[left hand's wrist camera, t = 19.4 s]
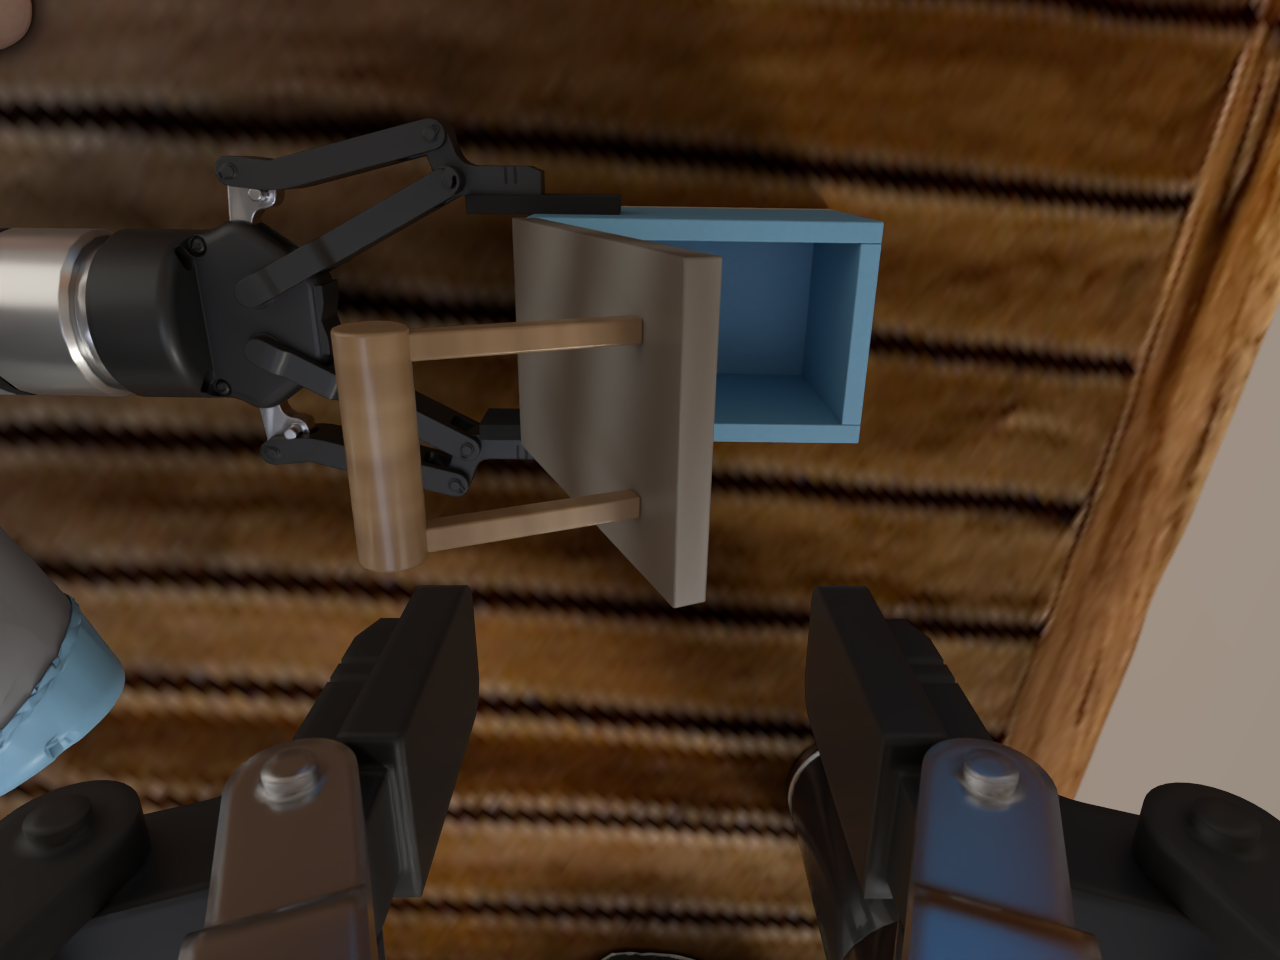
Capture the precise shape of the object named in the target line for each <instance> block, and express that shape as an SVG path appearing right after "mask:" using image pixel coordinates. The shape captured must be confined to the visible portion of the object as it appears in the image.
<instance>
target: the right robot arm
mask: <svg viewBox="0 0 1280 960" xmlns="http://www.w3.org/2000/svg"><path fill="white" fill-rule="evenodd" d="M424 156H427V158H428V160H429V163H430V165H431V168H432V170H433V172H432V173H430V174H428V175H427V176H425V177H423V178H421V179H420V180H418V181H416V182H414V183H413V184H411V185H409V186H407V187H406V188H404V189H402V190H401V191H399V192H397V193H395V194H394V195H392V196H390V197H388V198H387V199H385V200H383V201H382V202H380V203H378V204H376V205H375V206H373V207H371V208H369V209H368V210H366V211H364V212H363V213H361V214H359V215H357V216H356V217H354V218H352V219H350V220H349V221H347V222H345V223H344V224H342V225H340V226H338V227H337V228H335V229H333V230H331V231H330V232H328V233H326V234H325V235H323V236H321V237H319V238H317V239H315V240H312V241H310V242H308V243H306V244H305V245H303V246H301V247H298V246H296V245H295V244H293V243H292V242H290V241H289V240H287V239H286V238H285V237H283V236H282V235H280V234H279V233H277V232H276V231H274V230H273V229H272V228H270V227H269V226H267V225H266V224H264V223H263V222H261V217H262V214H263V212H264V211H265V210H266V209H268V208H272V207H277V206H279V205H280V204H281V203H282V202H283V200H284V189H296V188H305V187H310V186H314V185H318V184H322V183H326V182H329V181H333V180H337V179H341V178H344V177H348V176H352V175H356V174H360V173H363V172H367V171H371V170H375V169H378V168H382V167H386V166H390V165H393V164H397V163H401V162H405V161H409V160H412V159H416V158H420V157H424ZM214 170H215V174H216V176H217V178H218V179H219V181H220V182H222V183H223V184H224V185H227V187H228V203H229V218H230V221H227V222H225V223H223V224H222V225H220V226H219V227H217V228H215V229H212V230H180V229H124V230H120V231H118V232H114V231H111V230H108V229H104V228H19V227H14V228H0V394H11V395H18V394H21V395H67V396H112V397H124V396H128V395H131V394H136V395H139V396H145V397H231V398H236V399H240V400H243V401H245V402H247V403H249V404H251V405H253V406H255V407H259V408H260V412H261V415H262V419H263V423H264V427H265V431H266V434H267V438H268V440H267V441H266V442H265V443H264V444H262V446H261V448H260V454H261V456H262V458H263V459H264V460H265V461H266V462H268V463H270V464H275V465H278V464H290V463H302V462H314V463H318V464H322V465H326V466H330V467H334V468H339V469H343V470H347V462H346V454H345V446H344V438H343V430H342V426H340V425H335V424H326V423H315V420H314V418H313V417H312V416H311V415H309V414H306V413H301V412H297V411H295V410H293V409H292V408H291V407H290V405H289V404H288V401H287V399H289V398H290V397H291V396H293V395H294V394H295V393H297V392H298V391H299V390H300V389H302V388H303V387H305V388H307V389H309V390H311V391H313V392H315V393H317V394H319V395H321V396H323V397H325V398H328V399H331V400H339V398H338V390H337V381H336V373H335V365H334V357H333V349H332V341H331V333H330V332H331V329H332V328H333V327H335V326H338V325H341V323H340V321H339V318H338V316H337V306H338V299H339V292H338V284H337V280H333V279H332V277H331V275H330V273H329V272H330V271H331V270H333V269H335V268H337V267H338V266H340V265H342V264H344V263H345V262H347V261H349V260H351V259H352V258H353V257H355V256H356V255H358V254H360V253H362V252H363V251H365V250H367V249H369V248H370V247H372V246H374V245H376V244H377V243H379V242H381V241H383V240H384V239H386V238H388V237H390V236H391V235H393V234H395V233H397V232H398V231H400V230H402V229H404V228H406V227H407V226H409V225H411V224H413V223H414V222H416V221H418V220H420V219H421V218H423V217H425V216H427V215H428V214H430V213H432V212H434V211H435V210H437V209H439V208H441V207H442V206H444V205H446V204H448V203H449V202H451V201H453V200H455V199H456V198H458V197H460V196H462V195H465V198H466V214H577V215H620V213H621V195H604V194H545V182H544V171H543V170H540V169H538V168H536V167H533V166H483V165H475V164H472V163H470V162H469V161H468V160H467V159H466V158H465V157H464V155H463V154H462V151H461V149H460V146H459V144H458V141H457V136H456V131H455V129H454V127H453V126H452V125H451V124H449V123H447V122H445V121H441V120H437V119H432V118H426V119H422V120H418V121H414V122H411V123H407V124H403V125H399V126H396V127H392V128H388V129H385V130H381V131H377V132H373V133H370V134H366V135H362V136H358V137H355V138H351V139H347V140H344V141H340V142H336V143H332V144H329V145H325V146H321V147H318V148H314V149H310V150H306V151H303V152H299V153H295V154H292V155H288V156H284V157H280V158H277V159H271V158H263V157H255V156H222V157H220V158H219V159H218V160H217V161H216V163H215V168H214ZM415 399H416V411H417V422H418V433H419V439H420V440H422V441H424V442H426V443H428V444H430V445H432V446H434V447H436V448H438V449H440V450H437V449H433V448H429V447H425V446H421V445H420V456H421V467H422V478H423V489H425V490H429V491H434V492H438V493H442V494H446V495H450V496H456V497H459V496H462V495H464V494H465V493H466V492H467V490H468V488H469V486H470V484H471V482H472V480H473V478H474V476H475V474H476V472H477V468H478V465H479V462H481V461H482V460H485V459H534V458H533V456H532V455H531V454H530V453H529V452H528V451H527V450H526V449H525V448H524V447H523V446H522V444H521V425H520V409H497V408H489V409H488V411H487V412H486V414H485V416H484V417H483V419H482V421H481V422H480V423H478V422H476V421H474V420H472V419H470V418H468V417H466V416H464V415H462V414H461V413H459V412H457V411H455V410H453V409H451V408H449V407H447V406H445V405H443V404H441V403H439V402H437V401H435V400H433V399H431V398H429V397H427V396H425V395H423V394H421V393H419V392H417V391H415ZM441 450H442V451H441ZM347 471H348V470H347ZM124 683H125V673H124V669H123V666H122V664H121V662H120V661H119V660H118V658H117V657H116V656H115V654H114V653H113V652H112V651H111V649H110V648H109V647H108V645H107V644H106V643H105V642H104V640H103V639H102V638H101V636H100V635H99V634H98V633H97V631H96V630H95V629H94V627H93V626H92V625H91V624H90V622H89V621H88V620H87V619H86V617H85V616H84V615H83V613H82V612H81V610H80V608H79V605H78V604H77V603H76V602H75V599H74V598H72V597H70V596H69V595H67V594H66V593H63V592H62V591H61V590H60V589H59V588H58V587H57V586H56V584H55V583H54V582H53V581H52V580H51V579H50V578H49V577H48V576H47V575H46V574H45V573H44V572H43V571H42V570H41V569H40V568H39V566H38V565H37V564H36V563H35V562H34V561H33V560H32V559H31V558H30V557H29V556H28V555H27V554H26V553H25V552H24V551H23V550H22V548H21V547H20V546H19V545H18V544H17V543H16V542H15V541H14V540H13V539H12V538H11V537H10V536H9V535H8V534H7V533H6V531H5V530H4V529H3V528H2V527H1V526H0V796H2V795H4V794H5V793H7V792H9V791H11V790H12V789H14V788H15V787H17V786H19V785H20V784H22V783H23V782H25V781H26V780H28V779H29V778H31V777H32V776H34V775H35V774H37V773H38V772H39V771H41V770H42V769H43V768H45V767H46V766H48V765H49V764H50V763H52V762H53V761H54V760H55V759H56V758H57V756H59V755H60V754H61V753H62V752H63V751H64V750H66V749H67V748H69V747H70V746H71V745H73V744H74V743H76V742H78V741H79V740H80V739H82V738H83V737H84V736H85V735H86V734H87V733H88V732H89V731H90V730H91V729H92V728H94V727H95V726H96V725H97V724H98V723H99V722H100V721H101V720H102V719H103V718H104V717H105V716H106V715H107V713H108V712H109V711H110V710H111V709H112V707H113V706H114V704H115V703H116V701H117V700H118V698H119V697H120V695H121V693H122V690H123V687H124Z"/></svg>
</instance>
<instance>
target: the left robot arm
mask: <svg viewBox="0 0 1280 960" xmlns="http://www.w3.org/2000/svg"><path fill="white" fill-rule="evenodd" d="M478 696H479V671H478V659H477V647H476V635H475V622H474V610H473V600H472V593H471V590H470V587H469V586H467V585H420V586H418V587H417V588H416V589H415V591H414V593H413V595H412V597H411V598H410V600H409V602H408V604H407V606H406V608H405V610H404V611H403V613H402V615H401V617H400V618H380V619H379V620H378V621H376V622H375V623H374V624H372V625H371V626H369V627H368V628H367V629H365V630H364V631H363V632H361V633H360V634H359V635H357V636H356V637H355V638H354V640H353V641H352V643H351V645H350V646H349V648H348V649H347V651H346V653H345V654H344V656H343V658H342V662H341V664H338V666H337V668H336V669H335V671H334V672H333V674H332V676H331V677H330V682H327V684H326V686H325V687H324V689H323V690H322V692H321V694H320V695H319V697H318V699H317V700H316V702H315V704H314V705H313V707H312V708H311V710H310V712H309V713H308V715H307V717H306V718H305V720H304V722H303V723H302V725H301V727H300V728H299V730H298V731H297V733H296V735H295V736H294V738H293V740H291V741H288V742H284V743H280V744H278V745H275V746H272V747H270V748H268V749H266V750H263V751H261V752H259V753H258V754H256V755H254V756H253V757H251V758H250V759H248V760H247V761H246V762H244V763H243V764H242V765H241V766H239V767H238V768H237V769H236V770H235V771H234V772H233V774H232V775H231V776H230V778H229V779H228V780H227V782H226V784H225V786H224V789H223V793H222V796H219V797H217V798H213V799H209V800H206V801H202V802H197V803H193V804H188V805H184V806H179V807H175V808H171V809H166V810H162V811H157V812H153V813H148V814H143V811H142V807H141V803H140V800H139V797H138V795H137V793H136V791H135V790H134V789H133V788H132V787H130V786H128V785H126V784H124V783H121V782H117V781H109V780H95V781H87V782H81V783H77V784H72V785H68V786H65V787H62V788H59V789H56V790H53V791H51V792H48V793H46V794H43V795H41V796H39V797H37V798H35V799H33V800H31V801H29V802H27V803H26V804H24V805H22V806H21V807H19V808H17V809H16V810H14V811H13V812H12V813H10V814H9V815H7V816H6V817H5V818H3V819H2V820H1V821H0V960H387V958H386V948H385V940H384V933H383V924H384V921H385V918H386V915H387V912H388V910H389V907H390V904H391V901H392V898H393V897H422V893H423V890H424V887H425V883H426V880H427V877H428V873H429V870H430V867H431V863H432V860H433V857H434V853H435V850H436V847H437V843H438V840H439V837H440V833H441V830H442V827H443V824H444V820H445V817H446V814H447V810H448V807H449V804H450V800H451V797H452V794H453V790H454V787H455V784H456V780H457V777H458V774H459V770H460V767H461V764H462V760H463V757H464V754H465V750H466V747H467V744H468V740H469V737H470V734H471V730H472V727H473V724H474V720H475V717H476V712H477V706H478ZM805 698H806V707H807V713H808V718H809V721H810V725H811V728H812V731H813V734H814V738H815V741H816V744H815V745H813V746H812V747H811V748H809V749H808V750H807V751H806V752H805V753H803V755H802V756H801V757H800V758H799V759H798V760H797V762H796V763H795V764H794V766H793V768H792V770H791V772H790V774H789V777H788V780H787V786H786V796H787V802H788V806H789V810H790V814H791V817H792V819H793V821H794V824H795V829H796V834H797V838H798V842H799V846H800V851H801V855H802V859H803V863H804V867H805V871H806V876H807V880H808V884H809V888H810V892H811V896H812V901H813V905H814V909H815V913H816V917H817V921H818V926H819V930H820V934H821V938H822V942H823V946H824V951H825V955H826V959H827V960H1280V821H1279V820H1278V819H1276V818H1275V817H1274V816H1272V815H1271V814H1269V813H1268V812H1267V811H1265V810H1263V809H1262V808H1260V807H1258V806H1257V805H1255V804H1253V803H1251V802H1249V801H1247V800H1245V799H1243V798H1241V797H1239V796H1236V795H1234V794H1231V793H1229V792H1226V791H1223V790H1220V789H1217V788H1213V787H1209V786H1204V785H1200V784H1193V783H1168V784H1164V785H1160V786H1157V787H1156V788H1154V789H1152V790H1151V791H1150V792H1149V793H1148V794H1147V795H1146V797H1145V799H1144V802H1143V805H1142V809H1141V813H1140V815H1136V814H1132V813H1127V812H1123V811H1118V810H1114V809H1109V808H1105V807H1100V806H1096V805H1091V804H1087V803H1083V802H1079V801H1075V800H1071V799H1068V798H1066V797H1063V796H1060V795H1058V793H1057V789H1056V786H1055V784H1054V782H1053V780H1052V779H1051V778H1050V776H1049V775H1048V774H1047V772H1046V771H1045V770H1044V769H1043V768H1042V767H1041V766H1039V765H1038V764H1037V763H1036V762H1034V761H1033V760H1032V759H1030V758H1029V757H1027V756H1026V755H1024V754H1022V753H1021V752H1019V751H1017V750H1014V749H1012V748H1010V747H1008V746H1005V745H1002V744H1000V743H996V742H994V741H993V740H992V738H991V736H990V735H989V733H988V731H987V730H986V728H985V727H984V725H983V723H982V722H981V720H980V719H979V717H978V715H977V714H976V712H975V710H974V709H973V707H972V706H971V704H970V702H969V701H968V699H967V698H966V696H965V694H964V693H963V691H962V689H961V688H960V686H959V685H958V683H955V678H954V677H953V675H952V673H951V672H950V670H949V668H948V667H947V665H944V664H943V659H942V657H941V656H940V654H939V652H938V651H937V649H936V647H935V646H934V644H933V643H932V641H931V639H930V638H929V637H928V636H926V635H925V634H924V633H922V632H921V631H919V630H918V629H917V628H915V627H914V626H913V625H911V624H910V623H909V622H907V621H906V620H904V619H885V618H884V617H883V615H882V613H881V611H880V609H879V607H878V606H877V604H876V602H875V600H874V598H873V596H872V595H871V593H870V591H869V589H868V588H867V587H866V586H816V587H815V588H814V591H813V594H812V601H811V612H810V623H809V635H808V647H807V659H806V670H805Z"/></svg>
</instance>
